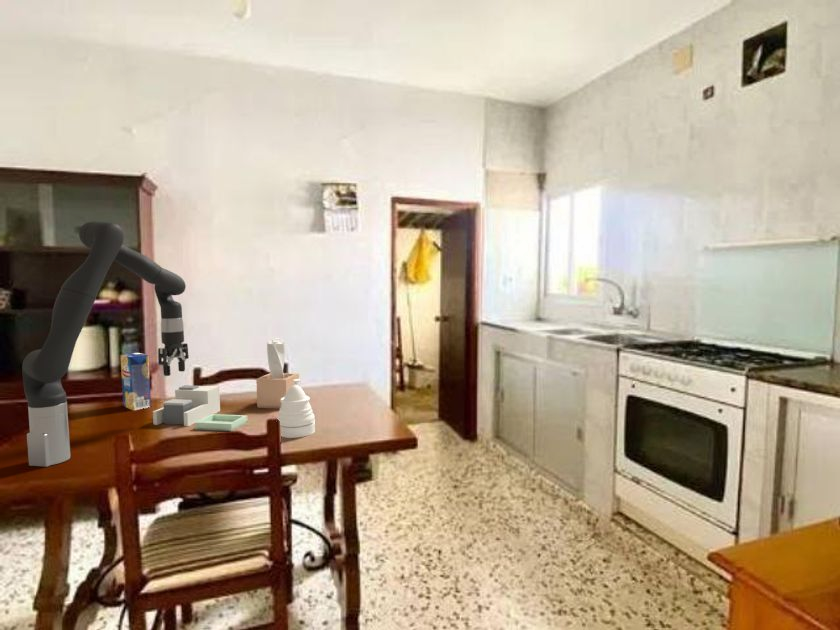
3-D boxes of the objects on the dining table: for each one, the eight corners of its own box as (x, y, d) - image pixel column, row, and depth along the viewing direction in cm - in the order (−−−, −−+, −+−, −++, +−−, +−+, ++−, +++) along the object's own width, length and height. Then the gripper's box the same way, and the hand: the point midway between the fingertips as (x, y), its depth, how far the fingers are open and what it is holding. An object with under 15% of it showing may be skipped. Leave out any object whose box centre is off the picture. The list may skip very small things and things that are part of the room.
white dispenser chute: (187, 426, 184) (186, 397, 183) (153, 424, 187) (152, 395, 186) (220, 410, 205) (219, 384, 204) (188, 409, 207) (187, 383, 206)
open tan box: (286, 408, 207) (286, 379, 206) (257, 407, 210) (256, 378, 209) (299, 400, 220) (298, 373, 219) (271, 399, 222) (270, 372, 221)
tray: (231, 431, 178) (231, 424, 178) (195, 429, 180) (195, 422, 180) (247, 422, 189) (247, 415, 189) (213, 420, 191) (212, 414, 191)
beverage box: (140, 402, 219) (137, 352, 217) (151, 407, 212) (148, 355, 210) (123, 406, 214) (120, 354, 212) (133, 410, 207) (130, 357, 205)
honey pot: (286, 425, 184) (285, 376, 182) (320, 427, 182) (319, 377, 180) (270, 436, 171) (268, 384, 170) (306, 438, 169) (305, 385, 168)
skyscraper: (286, 405, 211) (283, 338, 208) (266, 405, 211) (263, 338, 208) (290, 400, 219) (288, 335, 217) (272, 400, 219) (269, 336, 217)
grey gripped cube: (184, 424, 187) (183, 403, 186) (164, 423, 188) (163, 402, 187) (192, 420, 192) (191, 399, 191) (173, 419, 193) (172, 399, 192)
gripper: (169, 332, 180) (171, 377, 181) (193, 328, 194) (195, 370, 195) (150, 332, 181) (152, 377, 182) (175, 328, 195) (177, 369, 196)
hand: (174, 373), depth 189 cm, fingers open, 8 cm apart
